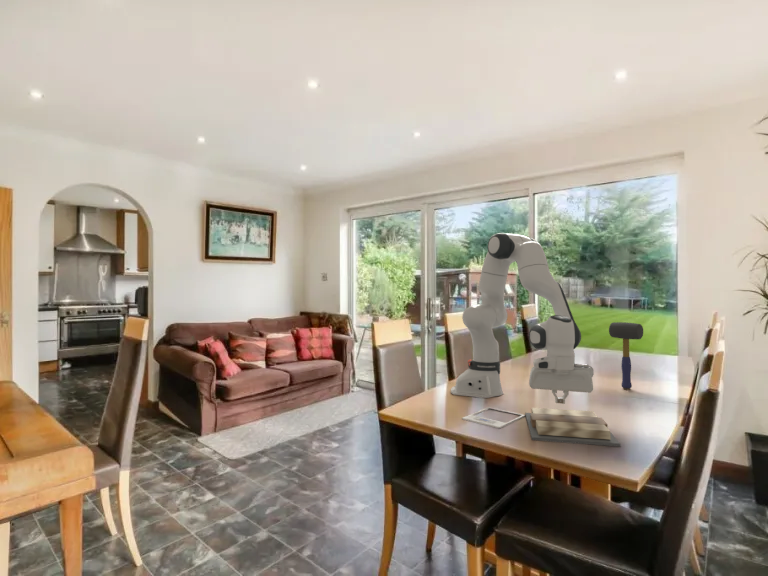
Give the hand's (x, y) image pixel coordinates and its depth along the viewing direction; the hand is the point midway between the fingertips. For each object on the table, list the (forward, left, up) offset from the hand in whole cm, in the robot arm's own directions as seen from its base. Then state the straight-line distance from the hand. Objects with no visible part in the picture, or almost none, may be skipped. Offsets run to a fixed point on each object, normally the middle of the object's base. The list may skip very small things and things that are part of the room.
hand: (560, 403), depth 145 cm
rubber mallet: (+36, +54, -6) cm, 65 cm away
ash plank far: (+1, -1, -5) cm, 5 cm away
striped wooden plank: (+1, -9, -6) cm, 11 cm away
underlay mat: (+1, -9, -6) cm, 11 cm away
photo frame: (-22, -2, -7) cm, 23 cm away
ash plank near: (+1, -16, -5) cm, 17 cm away
